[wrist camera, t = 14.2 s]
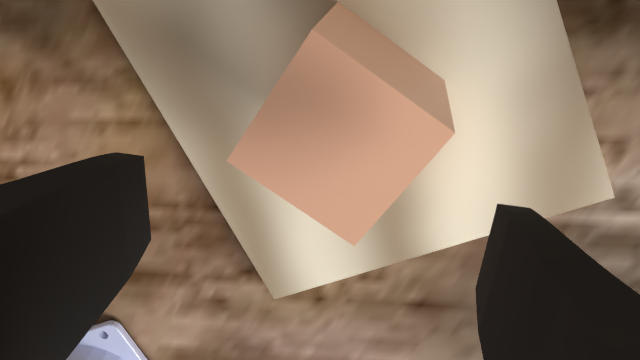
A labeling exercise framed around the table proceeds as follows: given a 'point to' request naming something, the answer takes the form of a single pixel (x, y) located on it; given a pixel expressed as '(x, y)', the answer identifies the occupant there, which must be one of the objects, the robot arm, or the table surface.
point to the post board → (438, 175)
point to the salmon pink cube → (346, 126)
